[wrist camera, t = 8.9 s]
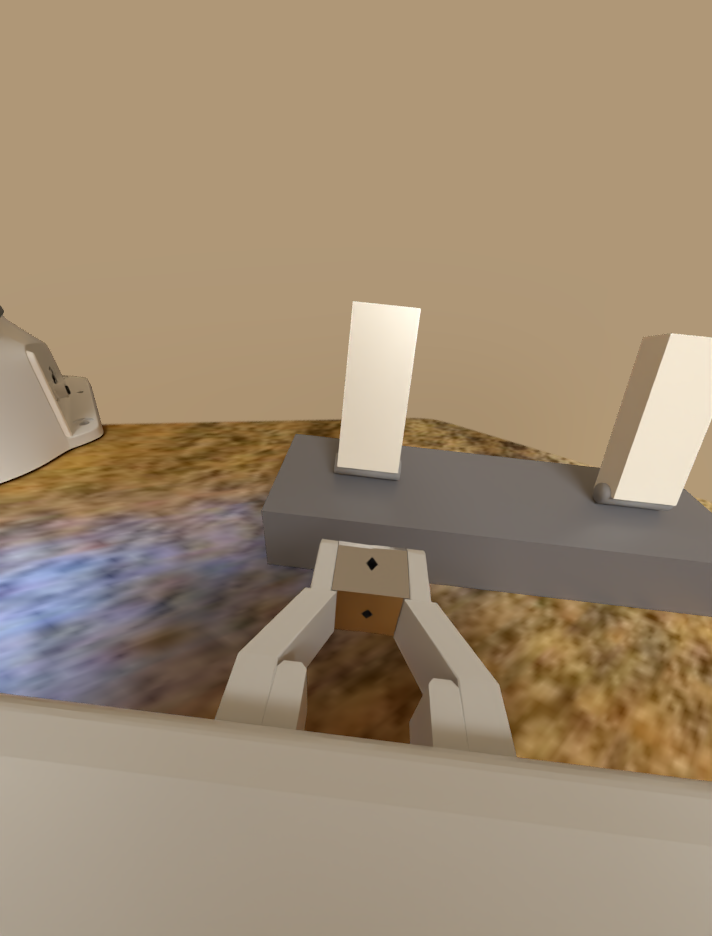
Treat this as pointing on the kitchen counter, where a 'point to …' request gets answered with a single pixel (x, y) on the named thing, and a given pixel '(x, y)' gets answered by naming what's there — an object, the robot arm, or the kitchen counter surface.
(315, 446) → the switch box
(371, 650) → the kitchen counter surface
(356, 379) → the lever
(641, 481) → the lever
